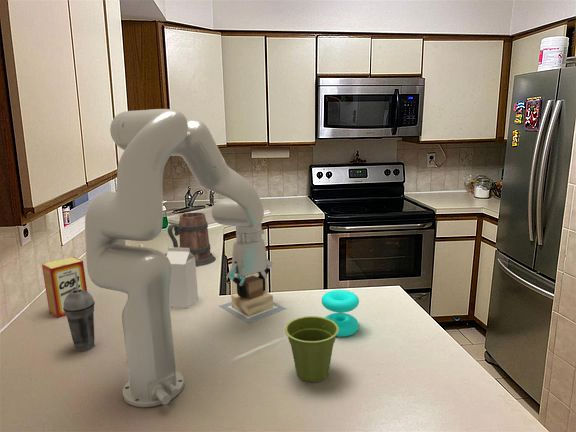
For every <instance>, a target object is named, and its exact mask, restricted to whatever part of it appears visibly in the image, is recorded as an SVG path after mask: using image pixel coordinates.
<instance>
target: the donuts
mask: <svg viewBox="0 0 576 432" xmlns="http://www.w3.org/2000/svg"><path fill="white" fill-rule="evenodd" d="M321 304H322V306H323V307H324V308H325V309H326V310H328V311H330V312H333V313H330V314H327V315H326V316H325V317H324V318H327V319H330V320H332V321H334V322H335V323H336V324H337V325H338V328H339V331H338V334H337V335H336V337H338V338H339V337H341V338H342V337H349V336H352V335H355V334H356V333H357V331H358V329H359V326H360V325H359V322H358V321H359V320H358V319H357V318H356V317H355V316H354V315H351V314H349V312H351V311H353V310H355V309H357V307H358V306H359V304H360V299H359V297H358V295H357V294H356V293H354V292H352V291H349V290H344V289H343V290H342V289H334V290H329V291H327V292H325V293H324V294H323V295H322V297H321Z"/></svg>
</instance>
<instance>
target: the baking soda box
mask: <svg viewBox="0 0 576 432" xmlns="http://www.w3.org/2000/svg"><path fill="white" fill-rule="evenodd" d="M84 266H85V265H84V261H83V259H80V258H77V257H75V256H73V257H68V258H64V259H57V260H54V261H53V260H52V261H51V262H50V261H49V262H47V263H43V264H42V265H41V268H42V274H43V275H42V276H43V280H44V286H45V288H44V289H45V293H46V299H47V305H48V312H50V313H49V314H51V313H52V314H53V315H52V314H51V315H52V316H54V317H55V316H56V318H57V319H60V318H64V317H66V315H65V312H64V310H63V308H64V300H65V298H66V297H67V295H68V294H69V293H71V292H72V291H74V290H76V281H75V273H76V272H77V279H78V288H79V290H85V291H87V292H88V287H87V280H86V272H85V267H84Z"/></svg>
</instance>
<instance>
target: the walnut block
mask: <svg viewBox="0 0 576 432" xmlns="http://www.w3.org/2000/svg"><path fill="white" fill-rule="evenodd" d="M243 285H245V295H246V297H245V298H247V299H249V300H250V299H253V298H256V297H259V296H262V295H263V279H260V278H258V276H256V275H254V274H251V275H248V276H246V277H245V280H244V283H243Z"/></svg>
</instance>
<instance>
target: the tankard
mask: <svg viewBox="0 0 576 432" xmlns="http://www.w3.org/2000/svg"><path fill="white" fill-rule="evenodd" d="M208 224H209V223H208V221H207V219H206V214H205V213H204V212H185V213H181V214H180V216H179V223H178V225H177V224H174V223H173V224H170V225H169V226H168V228H167V234H168V236H169V238H170V239H171V242H172V245H173V248H190V252H191V253H192V254H193V256H194V257H195V264H196V268H197V267H203V266H208V265H210V264H213V263H215V262H216V260H217V259H216V257H215V256H214V254H213V253H212V252H211V243H210V239H209V225H208ZM173 231H174V233H173ZM177 236H179V242H178V241H177V238H176V237H177ZM167 253H168V252H167ZM167 253H164V254H165V255H166V256H167Z"/></svg>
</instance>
